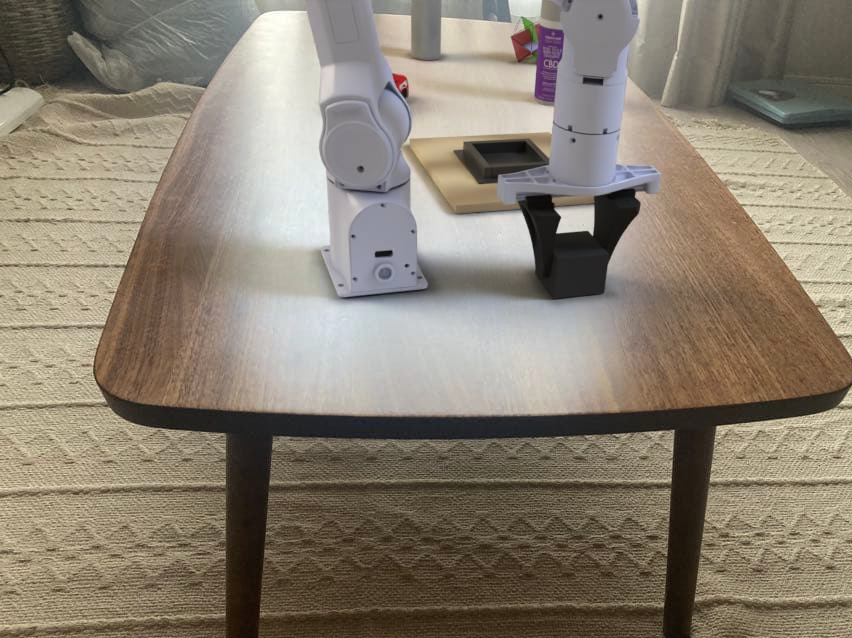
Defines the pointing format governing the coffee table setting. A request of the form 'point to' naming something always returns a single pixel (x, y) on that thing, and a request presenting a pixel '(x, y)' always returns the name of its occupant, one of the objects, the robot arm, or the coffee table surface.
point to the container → (548, 52)
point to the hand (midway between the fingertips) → (571, 269)
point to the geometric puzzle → (526, 41)
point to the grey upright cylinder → (426, 29)
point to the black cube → (576, 266)
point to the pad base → (483, 167)
